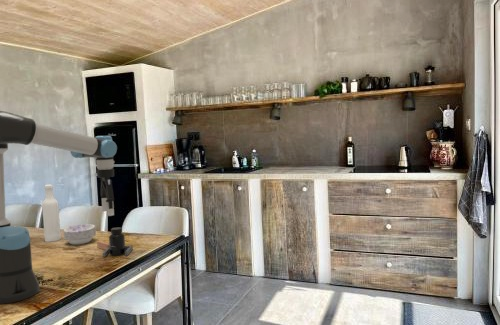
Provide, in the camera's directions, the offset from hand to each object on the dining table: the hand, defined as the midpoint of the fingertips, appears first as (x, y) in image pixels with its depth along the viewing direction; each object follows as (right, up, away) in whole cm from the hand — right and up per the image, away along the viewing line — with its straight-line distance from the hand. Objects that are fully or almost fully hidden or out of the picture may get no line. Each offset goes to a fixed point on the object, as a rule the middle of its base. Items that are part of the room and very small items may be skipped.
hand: (108, 213), depth 184 cm
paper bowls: (-21, -18, +19) cm, 33 cm away
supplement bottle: (+6, -18, -4) cm, 20 cm away
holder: (+2, -18, 0) cm, 18 cm away
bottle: (-39, -18, +25) cm, 50 cm away
